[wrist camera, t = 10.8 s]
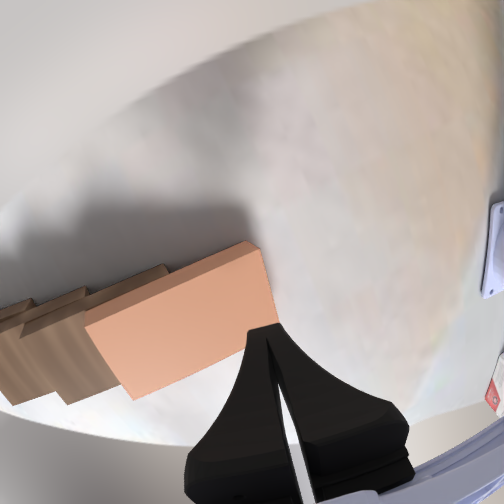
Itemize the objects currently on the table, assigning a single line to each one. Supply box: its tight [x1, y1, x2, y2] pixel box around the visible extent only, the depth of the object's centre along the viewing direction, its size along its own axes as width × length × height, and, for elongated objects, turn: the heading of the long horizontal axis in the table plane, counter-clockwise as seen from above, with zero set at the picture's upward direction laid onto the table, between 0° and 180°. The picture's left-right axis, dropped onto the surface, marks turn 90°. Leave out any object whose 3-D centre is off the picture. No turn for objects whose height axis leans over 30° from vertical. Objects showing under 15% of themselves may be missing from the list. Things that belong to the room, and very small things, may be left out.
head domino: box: [84, 241, 280, 401], centre depth 16 cm, size 2×5×9 cm
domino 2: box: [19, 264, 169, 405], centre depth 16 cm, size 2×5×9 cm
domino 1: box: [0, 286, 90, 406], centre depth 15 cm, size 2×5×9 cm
